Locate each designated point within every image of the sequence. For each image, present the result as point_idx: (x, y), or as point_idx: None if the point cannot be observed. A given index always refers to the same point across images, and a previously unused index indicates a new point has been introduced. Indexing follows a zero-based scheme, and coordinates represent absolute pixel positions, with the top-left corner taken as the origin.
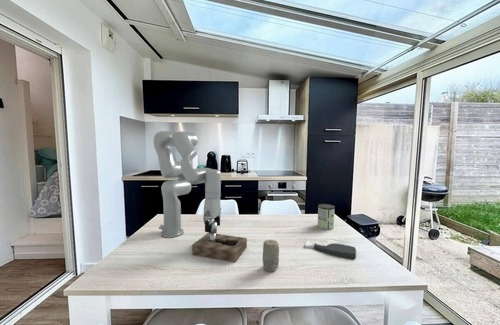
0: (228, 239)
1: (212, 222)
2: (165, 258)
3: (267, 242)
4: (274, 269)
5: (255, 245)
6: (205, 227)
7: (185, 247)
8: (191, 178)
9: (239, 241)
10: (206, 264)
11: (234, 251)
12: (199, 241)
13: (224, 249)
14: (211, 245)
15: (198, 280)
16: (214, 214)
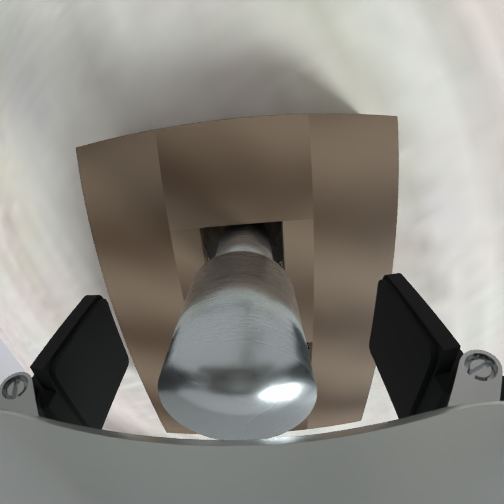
0: (311, 355)
1: (230, 399)
2: (31, 47)
3: None
4: None
5: (380, 395)
6: (63, 338)
7: (191, 18)
8: None
9: None
10: (82, 288)
11: (165, 428)
12: (154, 159)
13: (151, 390)
14: (144, 302)
15: (8, 314)
16: None
